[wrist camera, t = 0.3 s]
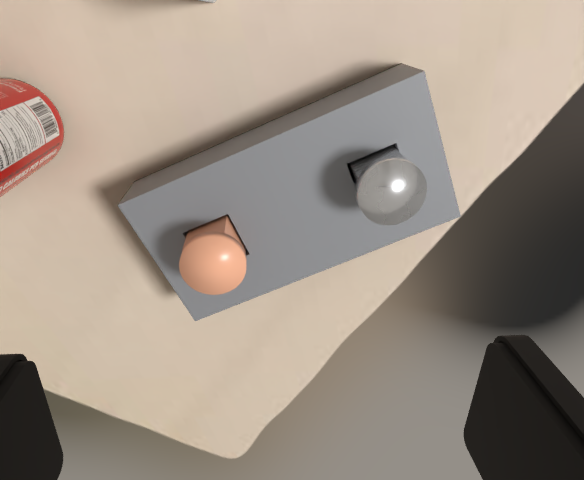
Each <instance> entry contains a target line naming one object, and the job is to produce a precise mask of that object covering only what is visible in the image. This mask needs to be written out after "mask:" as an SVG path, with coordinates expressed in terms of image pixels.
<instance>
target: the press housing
mask: <svg viewBox="0 0 584 480" xmlns="http://www.w3.org/2000/svg"><path fill="white" fill-rule="evenodd" d="M390 145H392V146H393V147H394V148H395V149H397V150H398V151H399V152H400V153H401V154H402V155H403V156H404V157H405V158H406V159H408V160H410V161H411V162H413V163H414V164H415V165H416V166H417V167H418V168H419V169H420V170H421V171H422V173H423V175H424V176H425V179H426V183H427V193H426V198H425V200H424V203H423V205H422V206H421V208H420V209H419V210H418V212H417V213H416V214H415V215H414V216H412V217H411V218H410V219H408V220H406V221H404V222H402V223H399V224H396V225H380V224H376V223H374V222H372V221H371V220H369V219H368V218H367V217H366V216H365V215H364V214H363V212H362V211H361V209H360V207H359V205H358V203H357V201H356V197H355V186H356V184H355V181H354V178H353V175H352V173H351V170H350V167H349V165H348V163H350V162H352V161H355V160H357V159H359V158H362V157H364V156H366V155H369V154H371V153H374V152H376V151H378V150H381V149H383V148H385V147H388V146H390ZM118 207H119V208H120V210H121V211H122V213H123V214H124V216H125V217H126V219H127V220H128V222H129V223H130V225H131V226H132V228H133V229H134V231H135V232H136V234H137V235H138V237H139V238H140V240H141V241H142V243H143V244H144V246H145V247H146V249H147V250H148V252H149V253H150V255H151V256H152V258H153V259H154V260H155V262H156V263H157V265H158V266H159V268H160V269H161V271H162V272H163V274H164V275H165V277H166V278H167V280H168V281H169V283H170V284H171V286H172V287H173V289H174V290H175V292H176V293H177V295H178V296H179V298H180V299H181V301H182V302H183V304H184V305H185V307H186V308H187V310H188V311H189V313H190V314H191V316H192V317H193V319H194V320H195V321H197V320H200V319H202V318H205V317H207V316H210V315H212V314H215V313H217V312H220V311H222V310H225V309H227V308H230V307H232V306H235V305H238V304H240V303H243V302H245V301H248V300H250V299H253V298H255V297H258V296H260V295H263V294H265V293H268V292H270V291H273V290H275V289H278V288H281V287H283V286H286V285H288V284H291V283H293V282H296V281H298V280H301V279H303V278H306V277H308V276H311V275H313V274H316V273H319V272H321V271H324V270H326V269H329V268H331V267H334V266H336V265H339V264H341V263H344V262H346V261H349V260H351V259H354V258H356V257H359V256H362V255H364V254H367V253H369V252H372V251H374V250H377V249H379V248H382V247H384V246H387V245H389V244H392V243H394V242H397V241H400V240H402V239H405V238H407V237H410V236H412V235H415V234H417V233H420V232H422V231H425V230H427V229H430V228H432V227H435V226H437V225H440V224H443V223H445V222H448V221H450V220H453V219H455V218H458V217H460V212H459V208H458V204H457V200H456V196H455V192H454V188H453V184H452V180H451V176H450V172H449V168H448V164H447V160H446V156H445V152H444V148H443V144H442V140H441V136H440V132H439V128H438V124H437V120H436V116H435V112H434V108H433V104H432V100H431V96H430V92H429V88H428V84H427V80H426V76H425V72H424V71H423V70H420V69H417V68H414V67H411V66H408V65H405V64H399V65H397V66H395V67H392V68H390V69H388V70H386V71H383V72H381V73H379V74H377V75H374V76H372V77H370V78H368V79H365V80H363V81H361V82H359V83H356V84H354V85H352V86H350V87H347V88H345V89H343V90H341V91H338V92H336V93H334V94H331V95H329V96H327V97H325V98H322V99H320V100H318V101H316V102H313V103H311V104H309V105H307V106H304V107H302V108H300V109H298V110H295V111H293V112H291V113H289V114H286V115H284V116H282V117H279V118H277V119H275V120H273V121H270V122H268V123H266V124H264V125H261V126H259V127H257V128H255V129H252V130H250V131H248V132H246V133H243V134H241V135H239V136H237V137H234V138H232V139H230V140H228V141H225V142H223V143H221V144H218V145H216V146H214V147H212V148H209V149H207V150H205V151H203V152H200V153H198V154H196V155H194V156H191V157H189V158H187V159H185V160H182V161H180V162H178V163H176V164H173V165H171V166H169V167H167V168H164V169H162V170H160V171H157V172H155V173H153V174H151V175H148V176H146V177H144V178H142V179H139V180H137V181H135V182H134V183H133V184H132V186H131V187H130V188H129V190H128V191H127V193H126V194H125V195H124V197H123V198H122V200H121V201H120V203H119V204H118ZM227 214H228V215H229V217H230V219H231V221H232V222H233V224H234V226H235V228H236V230H237V232H238V234H239V235H240V237H241V239H242V241H243V243H244V245H245V246H246V259H247V261H246V274H245V277H244V279H243V280H242V282H241V283H240V284H239V285H238V286H237V287H236V288H235V289H233V290H232V291H229V292H227V293H224V294H219V295H209V294H204V293H201V292H198V291H196V290H194V289H193V288H191V287H190V286H189V285H188V284H187V283H186V282H185V281H184V280H183V278H182V276H181V273H180V270H179V261H180V257H181V254H182V249H183V246H184V242H185V239H186V236H187V232H188V231H189V230H191V229H193V228H196V227H198V226H200V225H203V224H205V223H208V222H210V221H212V220H215V219H217V218H219V217H222V216H224V215H227Z"/></svg>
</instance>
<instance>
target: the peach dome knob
mask: <svg viewBox="0 0 584 480" xmlns="http://www.w3.org/2000/svg"><path fill="white" fill-rule="evenodd" d="M246 261H247V259H246V246H245V245H244V243H243V241H242V239H241V237H240V235H239V234H238V232H237V230H236V228H235V226H234V224H233V222H232V221H231V219H230V217H229V215H228V214H227V215H224V216H222V217H219V218H217V219H215V220H212V221H210V222H208V223H205V224H203V225H200V226H198V227H196V228H193V229H191V230H189V231H188V232H187V236H186V239H185V242H184V246H183V249H182V254H181V257H180V261H179V270H180V273H181V276H182V278H183V280H184V281H185V282H186V283H187V284H188V285H189V286H190V287H191V288H193V289H194V290H196V291H198V292H201V293H204V294H209V295H219V294H224V293H227V292H229V291H232V290H233V289H235V288H236V287H237V286H238V285H239V284H240V283H241V282H242V280H243V279H244V277H245V274H246Z"/></svg>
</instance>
